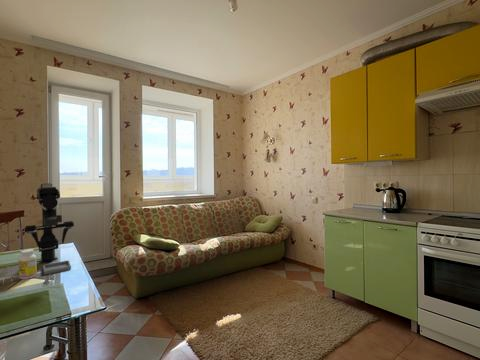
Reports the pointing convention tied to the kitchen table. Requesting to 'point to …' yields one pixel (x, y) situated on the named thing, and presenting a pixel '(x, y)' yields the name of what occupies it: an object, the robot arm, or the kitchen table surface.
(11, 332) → the kitchen table surface
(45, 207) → the robot arm
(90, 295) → the kitchen table surface
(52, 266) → the tray
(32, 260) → the supplement bottle
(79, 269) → the kitchen table surface
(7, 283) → the kitchen table surface
